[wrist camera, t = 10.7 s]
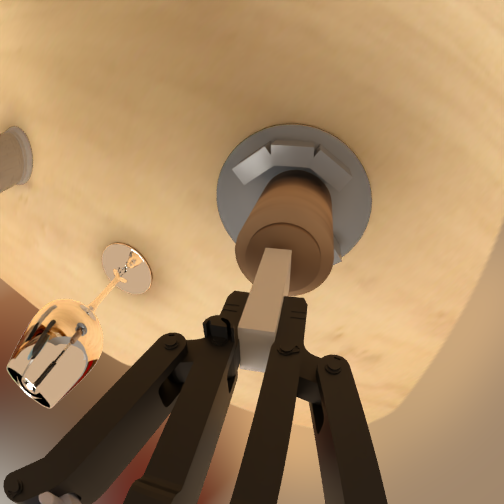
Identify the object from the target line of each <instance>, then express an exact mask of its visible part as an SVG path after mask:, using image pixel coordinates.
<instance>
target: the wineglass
mask: <svg viewBox="0 0 504 504" xmlns="http://www.w3.org/2000/svg"><path fill="white" fill-rule="evenodd" d="M102 265H103V269H104V271H105V273H106V275H107V277H108V278H109V279H110V281H111V282H110V283H109V285H108V286H107V287H106V288H105V289H104V290H103V291H102V292H101V293H100V295H99V296H98V297H97V298H96V299H95V300H94V301H92V302H91V303H90V304H89V305H87V306H86V305H85V304H83V303H81V302H79V301H75V300H72V299H57V300H54V301H52V302H49V303H48V304H46V305H45V306H44V307H43V308H42V309H40V310H39V312H38V313H37V314H36V316H34V318H33V319H32V321H31V322H30V323H29V325H28V327H27V328H26V330H25V332H24V333H23V335H22V337H21V338H20V340H19V342H18V344H17V346H16V348H15V350H14V352H13V354H12V356H11V358H10V361H9V363H8V365H7V371H8V373H9V374H10V376H11V377H12V379H13V380H14V381H15V382H16V383H17V385H18V386H20V388H21V389H22V390H23V391H24V392H25V393H26V394H28V395H29V396H30V397H31V398H32V399H34V400H35V401H36V402H38V403H39V404H41V405H42V406H44V407H46V408H52V407H53V406H54V405H55V404H57V402H59V401H60V400H61V399H62V398H63V397H65V396H66V395H67V394H68V393H69V392H70V391H71V390H72V389H73V388H74V387H75V386H76V385H77V384H78V383H79V382H80V381H81V380H83V379H84V377H85V376H86V375H87V374H88V373H89V372H90V370H91V369H92V368H93V367H94V366H95V364H96V363H97V361H98V359H99V357H100V355H101V353H102V349H103V332H102V328H101V325H100V322H99V320H98V318H97V316H96V315H95V311H96V309H97V307H98V306H99V304H100V303H101V302H102V300H103V299H104V298H105V297H106V296H107V295H108V293H109V292H110V291H111V290H112V289H113V288H114V287H115V286H116V287H118V288H119V289H121V290H122V291H124V292H127V293H129V294H137V295H138V294H142V293H144V292H146V291H147V290H148V289H149V288H150V286H151V282H152V275H151V271H150V268H149V266H148V264H147V262H146V261H145V259H144V258H143V257H142V256H141V255H140V254H139V253H138V252H137V251H136V250H135V249H133V248H132V247H130V246H128V245H125V244H121V243H113V244H110V245H108V246H107V247H106V248H105V250H104V251H103V254H102Z"/></svg>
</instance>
